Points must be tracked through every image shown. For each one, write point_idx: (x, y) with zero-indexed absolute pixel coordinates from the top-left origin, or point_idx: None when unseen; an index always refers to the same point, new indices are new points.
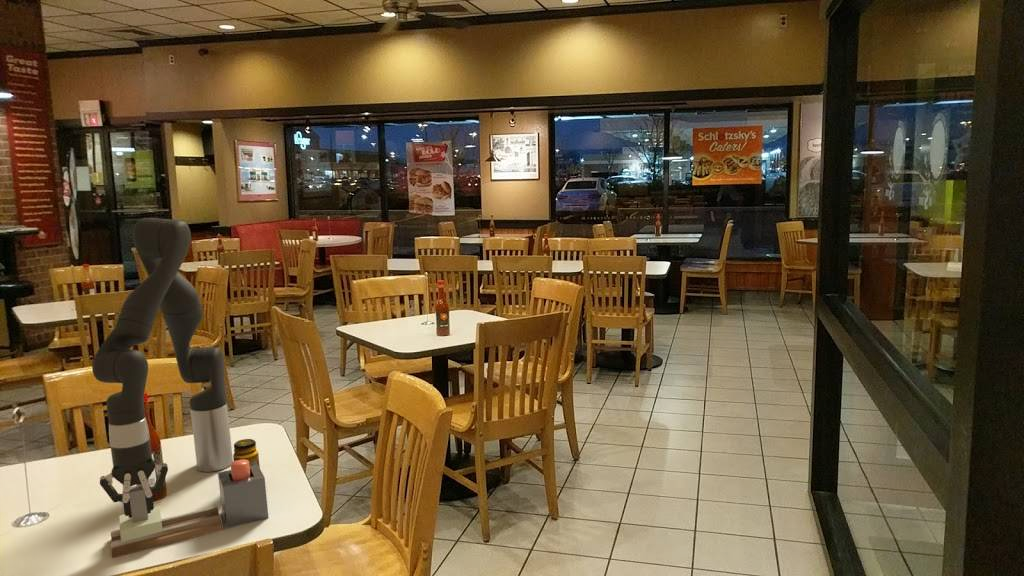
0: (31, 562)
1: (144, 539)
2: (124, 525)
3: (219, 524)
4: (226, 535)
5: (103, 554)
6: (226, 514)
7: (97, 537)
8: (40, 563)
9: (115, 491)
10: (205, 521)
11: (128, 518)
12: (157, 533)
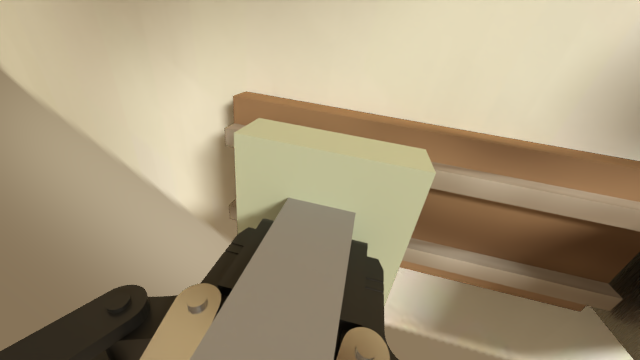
0: (43, 80)
1: None
2: None
3: (568, 307)
4: (543, 321)
5: (226, 179)
6: (626, 349)
7: (196, 30)
8: (72, 106)
9: (85, 356)
10: (542, 290)
11: (271, 196)
12: None
